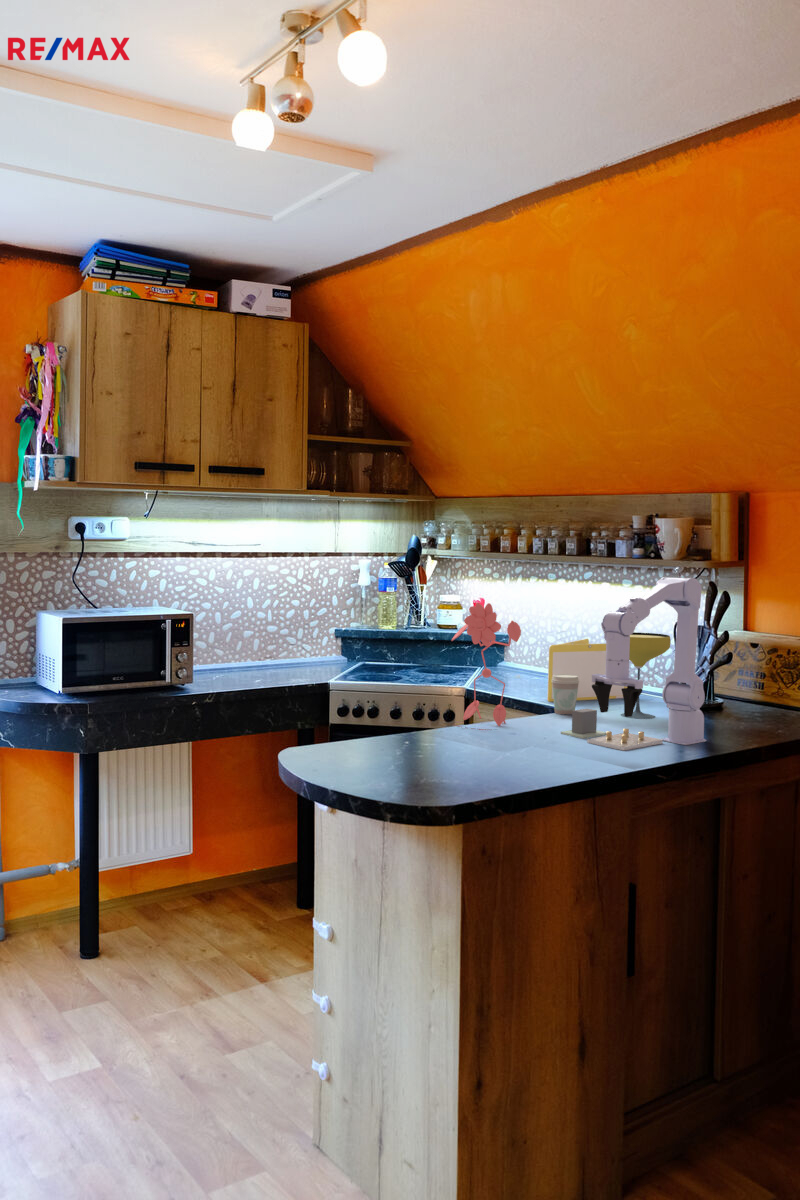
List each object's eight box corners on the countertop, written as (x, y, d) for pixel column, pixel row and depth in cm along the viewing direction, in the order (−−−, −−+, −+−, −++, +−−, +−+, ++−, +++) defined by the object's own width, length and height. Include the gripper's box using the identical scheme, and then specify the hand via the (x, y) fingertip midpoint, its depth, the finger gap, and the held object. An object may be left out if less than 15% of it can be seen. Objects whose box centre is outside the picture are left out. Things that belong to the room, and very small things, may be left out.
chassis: (626, 736, 272) (626, 725, 271) (662, 743, 262) (663, 732, 262) (587, 742, 262) (587, 731, 261) (623, 750, 252) (624, 738, 252)
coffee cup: (549, 716, 302) (550, 676, 301) (551, 711, 310) (552, 673, 309) (577, 717, 300) (578, 678, 299) (579, 713, 308) (580, 674, 307)
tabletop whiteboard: (577, 691, 357) (578, 636, 356) (636, 696, 346) (638, 640, 345) (539, 703, 327) (540, 644, 325) (603, 710, 316) (605, 648, 314)
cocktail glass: (657, 724, 291) (660, 638, 289) (598, 717, 300) (600, 635, 299) (675, 715, 306) (678, 634, 305) (618, 709, 316) (620, 631, 314)
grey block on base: (584, 731, 279) (585, 706, 279) (607, 736, 273) (608, 710, 272) (560, 735, 273) (561, 710, 272) (582, 740, 267) (583, 714, 266)
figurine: (461, 716, 299) (463, 599, 297) (530, 728, 281) (533, 604, 279) (426, 722, 288) (428, 601, 286) (495, 735, 270) (498, 606, 268)
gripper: (584, 658, 251) (583, 711, 251) (630, 663, 239) (629, 720, 240) (602, 656, 255) (601, 709, 256) (649, 662, 244) (647, 717, 245)
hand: (616, 714), depth 248 cm, fingers open, 7 cm apart
